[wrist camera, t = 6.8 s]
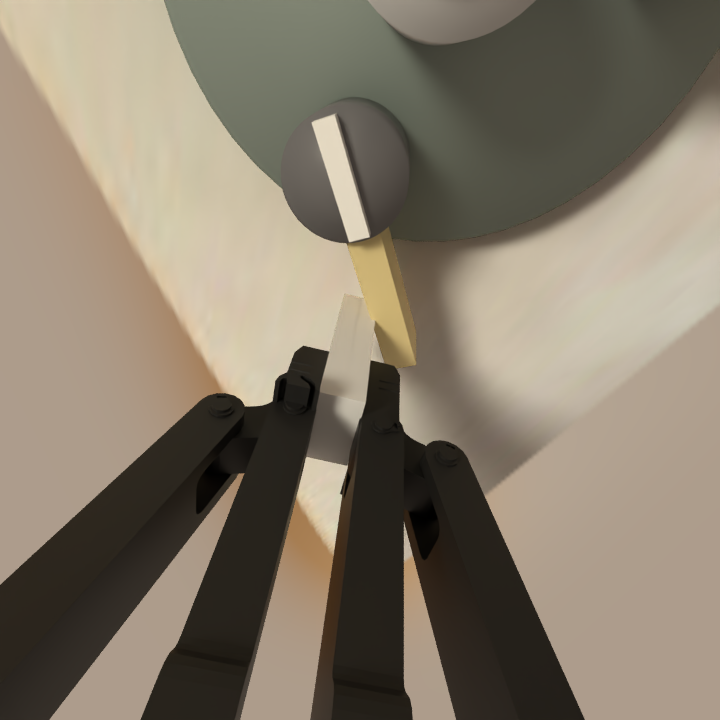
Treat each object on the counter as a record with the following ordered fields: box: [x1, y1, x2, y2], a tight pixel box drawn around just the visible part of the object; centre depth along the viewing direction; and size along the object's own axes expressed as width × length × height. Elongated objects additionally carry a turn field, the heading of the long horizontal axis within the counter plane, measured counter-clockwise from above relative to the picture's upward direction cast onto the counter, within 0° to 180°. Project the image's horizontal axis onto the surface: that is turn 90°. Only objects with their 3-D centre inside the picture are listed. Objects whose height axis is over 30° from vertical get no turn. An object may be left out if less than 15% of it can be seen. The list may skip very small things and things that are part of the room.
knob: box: [281, 97, 416, 369], centre depth 16 cm, size 10×4×4 cm, turn 17°
